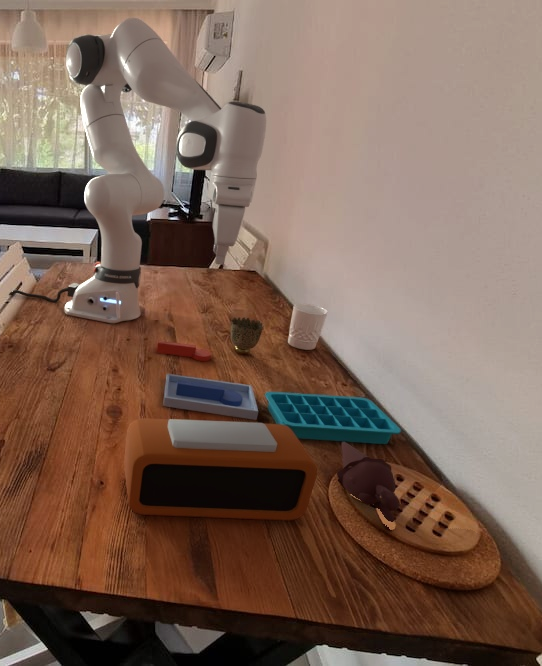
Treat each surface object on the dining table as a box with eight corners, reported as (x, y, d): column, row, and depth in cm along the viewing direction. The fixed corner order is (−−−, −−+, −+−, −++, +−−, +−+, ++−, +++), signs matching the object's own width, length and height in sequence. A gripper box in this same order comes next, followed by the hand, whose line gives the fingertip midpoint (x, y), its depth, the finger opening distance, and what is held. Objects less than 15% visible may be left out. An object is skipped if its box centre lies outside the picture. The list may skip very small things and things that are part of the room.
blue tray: (163, 406, 88) (164, 397, 87) (165, 381, 97) (166, 373, 96) (256, 420, 84) (258, 411, 84) (250, 393, 94) (251, 385, 93)
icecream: (318, 428, 71) (364, 503, 58) (369, 422, 70) (427, 497, 57) (318, 461, 75) (361, 540, 61) (366, 455, 73) (421, 535, 60)
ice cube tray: (399, 447, 78) (404, 433, 77) (280, 439, 79) (284, 425, 78) (364, 411, 89) (368, 397, 88) (260, 404, 90) (263, 391, 89)
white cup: (316, 341, 121) (325, 306, 117) (319, 353, 114) (329, 316, 110) (284, 336, 123) (292, 301, 120) (286, 347, 116) (294, 311, 113)
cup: (259, 360, 109) (266, 329, 105) (227, 356, 110) (233, 326, 107) (255, 348, 115) (261, 318, 112) (225, 344, 117) (230, 315, 113)
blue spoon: (175, 398, 90) (177, 386, 89) (176, 387, 94) (178, 376, 93) (242, 408, 87) (245, 396, 86) (240, 397, 91) (242, 385, 90)
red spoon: (156, 355, 109) (157, 345, 108) (157, 347, 113) (158, 338, 112) (210, 362, 107) (212, 352, 106) (209, 354, 111) (211, 344, 110)
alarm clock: (127, 515, 61) (134, 445, 57) (122, 473, 69) (128, 409, 65) (304, 522, 62) (325, 453, 57) (279, 480, 69) (296, 416, 65)
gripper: (213, 185, 102) (202, 246, 108) (216, 195, 84) (203, 268, 89) (242, 187, 101) (230, 249, 107) (252, 198, 83) (237, 272, 88)
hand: (218, 258), depth 98 cm, fingers open, 8 cm apart
